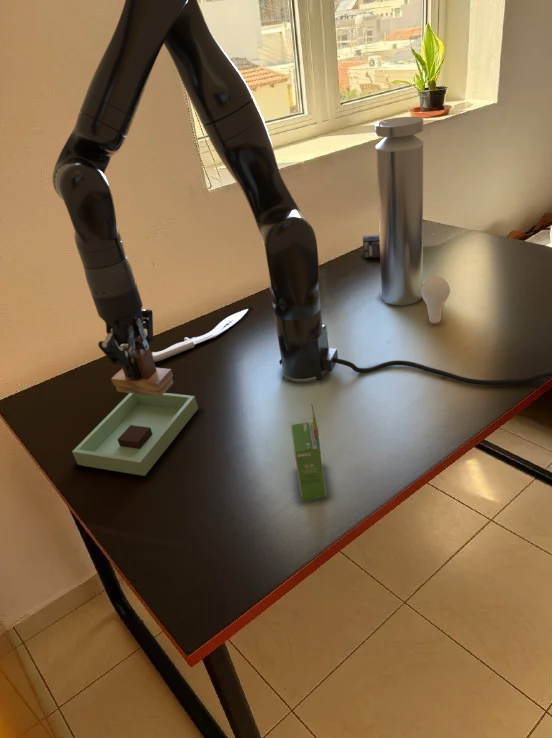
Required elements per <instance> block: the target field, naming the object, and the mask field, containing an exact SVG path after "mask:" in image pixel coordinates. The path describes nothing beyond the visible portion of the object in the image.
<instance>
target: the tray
mask: <svg viewBox="0 0 552 738" xmlns="http://www.w3.org/2000/svg"><path fill="white" fill-rule="evenodd" d="M198 409H199V406H198V403H197V399H196V396H195V395H189V394H188V395H187V394H179V393H169V392H165V393H164V394H163V395H162V396H161V397H160V396H151V395H143V394H134V393H127V395H126V396H125V397H124V398H123V399H122V400H121V401H120V402H119V403H118V404H117V405H116V406H115V407H114V408H113V409H112V410H111V412H110V413H108V414H107V416H106V417H104V418H103V419H102V421H101V422H99V424H98V425H97V426H96V427H95V428H94V429H93V430H92V431H91V432H89V434H88V435H87V436H86V437H85V438H84V439H83V440H82V441H81V442H80V443H79V444H78V445H76V447H75V448H74V449H72V451H71V453H72V455H73V457H74V460H75V462H76V464H77V465H78V466H84V467H88V468H89V467H90V468H95V469H100V470H106V471H113V472H118V473H126V474H131V475H137V476H143V477H145V476H146V475H148V473H149V471H150V470H151V469H152V468H153V466H154V465H155V464H156V463H157V461H158V460H159V459H160V458H161V456H162V455H163V454H164V452H165V451H166V450H167V449H168V447H169V446H170V445H171V444H172V443H173V441H174V440H175V439H176V437H177V436H178V435H179V434H180V432H182V430H183V429H184V427H185V426H186V425H187V423H188V422H189V421H190V420H191V418H192V417H193V416H194V415H195V414H196V412H197V411H198ZM130 425H134V426H142V427H149V428H151V431H152V435H151V437H150V438H149V439H148V440H147V441H146V443H145V444H144V445H143V446H142V447H141V448H140V449H136V448H129V447H123V446H120V445H119V442H118V440H117V439H118V438H119V437H120V436H121V435H122V434H123V433H124V432H125V431H126V429H127V428H128V427H129V426H130Z"/></svg>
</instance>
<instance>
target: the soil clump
mask: <svg viewBox="0 0 552 738" xmlns="http://www.w3.org/2000/svg"><path fill="white" fill-rule="evenodd" d="M151 435H152V431H151V428H149V427H142V426H134V425H130V426H129V427H128V428H127V429H126V431H125V432H124V433H123V434H122V435H121V436H120V437H119V438H118V439H117V440H118V442H119V445H120V446H123V447H129V448H136V449H140V448H141V447H142V446H143V445H144V444H145V443H146V441H147V440H148V439H149V438H150V437H151Z"/></svg>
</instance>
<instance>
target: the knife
mask: <svg viewBox="0 0 552 738" xmlns="http://www.w3.org/2000/svg"><path fill="white" fill-rule="evenodd" d="M248 311H249V308H247V309H243V310H241V311H240V310H239V311H238V312H235V313H233V314H231V315H229V316H227V317H226V318H224V319H222V321H219V323H218V324H217V325H216V326H215V327H214V328H213V329H212V330H210V331H209V332H207V333H205V334H203V335H199V336H195V337H194V336H193V337H192V338H189V337H187V336H185V337H184V338H183V341H181V342H177V343H175V344H172V345H171V346H169V347H167V348H165V349H163V350H159V351H151V353H152V357H153V360H154V363H156V362H160V361H163V360H165V359H168V358H170V357H173V356H175V355H177V354H181V353H183V352H185V351H188V350H191V349H194V348H195V345H197V344H200V343H202V342H206V341H207V340H210V339H214V338H216V337H218V336H219V335H220V334H222V333H223V332H225V331H226V330H228V329H229V328H230V327H232V326H234V325H235V324H236V323H237V322H239V321H240V320H241V319H242V318H243V317H244V316H245V314H247V312H248Z"/></svg>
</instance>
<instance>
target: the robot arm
mask: <svg viewBox="0 0 552 738" xmlns="http://www.w3.org/2000/svg"><path fill="white" fill-rule="evenodd" d="M163 46H164V47H165V48H166V50H167V52H168V54H169V56H170V57H171V59H172V62H173V64H174V66H175V68H176V70H177V73H178V76H179V77H180V80H181V83H182V85H183V87H184V89H185V91H186V93H187V96H188V97H189V100H190V102H191V104H192V107H193V108H194V110H195V112H196V114H197V116H198V119H199V121H200V123H201V125H202V127H203V129H204V131H205V134H206V135H207V137H208V140H209V141H210V143H211V145H212V147H213V149H214V150H215V152H216V154H217V155H218V157H219V159H220V160H221V162H222V163H223V165H224V166H225V169H226V170H227V171H228V173H229V174H230V175H231V177H232V178H233V180H234V181H235V182H236V183H237V185H238V187H239V188H240V190H241V191H242V193H243V195H244V197H245V199H246V201H247V203H248V206H249V208H250V211H251V213H252V216H253V217H254V218H253V219H254V221H255V224H256V227H257V230H258V233H259V236H260V239H261V243H262V245H263V248H264V253H265V258H266V264H267V269H268V277H269V290H270V291H269V292H270V297H271V303H272V311H273V316H274V322H275V327H276V335H277V340H278V347H279V348H278V349H279V353H280V354H279V355H280V360H279V361H278V362H279V366H281V367H282V374H283V377H284V378H285V379H286V380H287V381H289V382H292V383H296V384H306V383H312V382H315V381H323V380H324V378H325V377H326V375H327V373H329V372H330V373H331V372H333V370H334V368H335V366H336V365H337V364H339V365H343V366H346V367H348V368H350V369H352V371H354V372H356V373H358V374H367V373H372V372H376V371H379V370H382V369H385V368H388V367H392V366H403V367H404V366H406V367H410V368H415V369H419V370H421V371H425V372H427V373H431V374H434V375H439V376H442V377H445V378H448V379H450V380H451V379H452V380H453V381H454V380H455V381H456V382H457V381H458V382H461V383H465V384H471V385H477V386H478V385H479V386H505V385H506V386H507V385H517V384H525V383H530V382H533V381H536V380H539V379H543V378H546V377H552V370H547V371H543V372H539V373H536V374H533V375H530V376H526V377H519V378H518V377H517V378H507V379H476V378H469V377H464V376H461V375H457V374H455V373H452V372H448V371H445V370H441V369H437V368H434V367H430V366H427V365H423V364H421V363H417V362H414V361H408V360H398V359H397V360H390V361H385V362H382V363H379V364H377V365H373V366H371V367H358V366H357V365H356V364H354V362H351V361H348V360H345V359H342V358H339V355H338V354H339V353H338V348H336V347H330V346H329V338H328V329H327V325H325V324H323V323H324V322H323V313H322V305H321V304H322V303H321V296H320V281H321V276H320V262H319V251H318V243H317V236H316V232H315V229H314V228H313V226H312V225H311V223H310V222H309V220H308V219H307V217H306V216H305V215H304V213H303V212H302V210H301V209H300V207H299V205H298V204H297V202H296V201H295V199H294V198H293V196H292V194H291V192H290V189H289V188H288V186H287V185H286V183H285V180H284V179H283V176H282V175H281V172H280V169H279V166H278V162H277V159H276V155H275V151H274V147H273V143H272V140H271V137H270V134H269V132H268V128H267V126H266V123H265V120H264V118H263V116H262V114H261V110H260V109H259V106H258V105H257V102H256V100H255V98H254V96H253V94H252V91H251V90H250V87H249V86H248V84H247V83H246V81H245V79H244V78H243V76H242V74H241V73H240V71H239V70H238V68H237V67H236V66H235V64H234V63H233V62H232V61H231V59H230V57H229V56H228V55H227V54H226V52H224V49H223V48H222V47H221V46H220V45H219V43H218V42H217V39H215V37H214V35H213V33H212V31H211V30H210V27H209V26H208V24H207V22H206V19H205V16H204V13H203V11H202V9H201V7H200V4H199V2H198V0H125V1H124V4H123V7H122V10H121V13H120V16H119V19H118V21H117V25H116V27H115V29H114V32H113V34H112V36H111V38H110V40H109V43H108V45H107V47H106V49H105V51H104V52H103V54H102V57H101V59H100V61H99V63H98V65H97V67H96V69H95V71H94V73H93V76H92V78H91V80H90V83H89V85H88V88H87V90H86V93H85V96H84V99H83V101H82V103H81V107H80V110H79V113H78V115H77V118H76V122H75V124H74V127H73V129H72V131H71V132H70V134H69V136H68V137H67V140H66V142H65V144H64V146H63V147H62V148H61V151H60V153H59V155H58V157H57V160H56V162H55V164H54V168H53V171H52V176H51V177H52V179H51V180H52V186H53V189H54V191H55V193H56V195H57V196H58V197H59V198H60V199H61V200H62V201H63V202H64V206H65V207H66V210H67V213H68V216H69V219H70V221H71V224H72V227H73V230H74V235H73V236H74V238H73V239H74V243H75V246H76V249H77V252H78V255H79V258H80V261H81V263H82V267H83V270H84V275H85V280H86V282H87V283H86V284H87V286H88V289H89V291H90V295H91V297H92V300H93V303H94V307H95V309H96V312H97V315H98V317H99V318H100V319H102V321H103V322H104V323H105V332H106V337H105V339H104V340H99V341H98V344H97V345H98V348H99V349H100V350H101V351H102V352H103V353H104V355H105V356H106V357H107V358H108V359H109V360H110V362H111V363H112V364H113V365H117V366H118V365H119V366H121V365H124V367H125V370H126V373H127V376H128V377H129V378H130V379H132V380H139V379H140V378H141V374H140V371H139V368H138V365H137V362H136V361H135V354H134V349H135V348H136V349H148V350H150V343H153V342H154V319H153V317H154V316H153V310H152V309H147V308H143V301H142V298H141V294H140V291H139V287H138V283H137V280H136V277H135V274H134V271H133V267H132V265H131V263H130V260H129V258H128V255H127V253H126V249H125V245H124V242H123V239H122V236H121V233H120V231H119V228H118V222H117V214H116V208H115V202H114V197H113V194H112V190H111V187H110V184H109V181H108V180H107V177H106V175H105V173H106V171H107V168H108V166H109V165H110V162H111V159H112V157H113V156H115V155H116V154H118V153H119V152H120V151H121V150H122V148H123V146H124V144H125V142H126V140H127V137H128V135H129V132H130V130H131V127H132V125H133V122H134V119H135V117H136V114H137V112H138V109H139V106H140V104H141V101H142V98H143V96H144V92H145V90H146V87H147V84H148V82H149V79H150V76H151V74H152V71H153V69H154V67H155V64H156V61H157V58H158V57H159V54H160V52H161V50H162V48H163ZM125 351H127V353H128V356H126V355H125Z"/></svg>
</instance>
